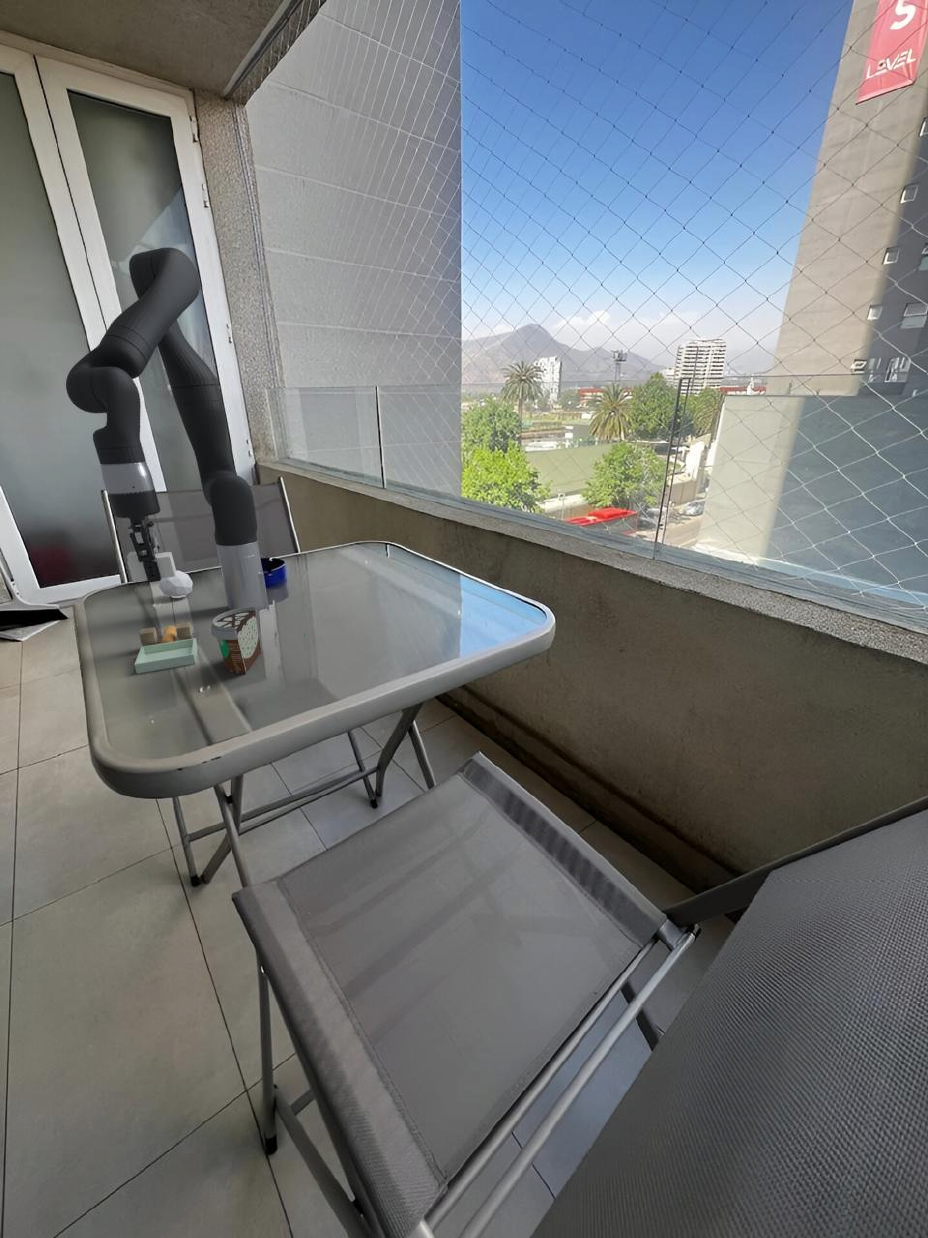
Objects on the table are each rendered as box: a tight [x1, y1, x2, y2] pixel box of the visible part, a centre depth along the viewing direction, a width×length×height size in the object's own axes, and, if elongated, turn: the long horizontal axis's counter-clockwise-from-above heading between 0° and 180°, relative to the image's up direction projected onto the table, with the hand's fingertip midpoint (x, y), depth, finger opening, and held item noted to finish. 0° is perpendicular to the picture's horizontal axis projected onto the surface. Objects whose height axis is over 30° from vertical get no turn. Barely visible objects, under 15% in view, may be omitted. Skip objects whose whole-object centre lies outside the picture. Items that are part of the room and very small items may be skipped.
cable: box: [161, 625, 177, 644], centre depth 103 cm, size 2×9×2 cm, turn 25°
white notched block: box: [126, 550, 177, 583], centre depth 95 cm, size 7×4×5 cm, turn 116°
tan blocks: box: [139, 621, 194, 647], centre depth 101 cm, size 9×3×4 cm, turn 115°
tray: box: [134, 638, 199, 675], centre depth 95 cm, size 10×9×2 cm
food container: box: [210, 607, 263, 675], centre depth 91 cm, size 12×6×10 cm, turn 5°
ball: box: [158, 569, 194, 597], centre depth 132 cm, size 8×8×8 cm
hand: (156, 577), depth 96 cm, fingers closed on white notched block, 4 cm apart
